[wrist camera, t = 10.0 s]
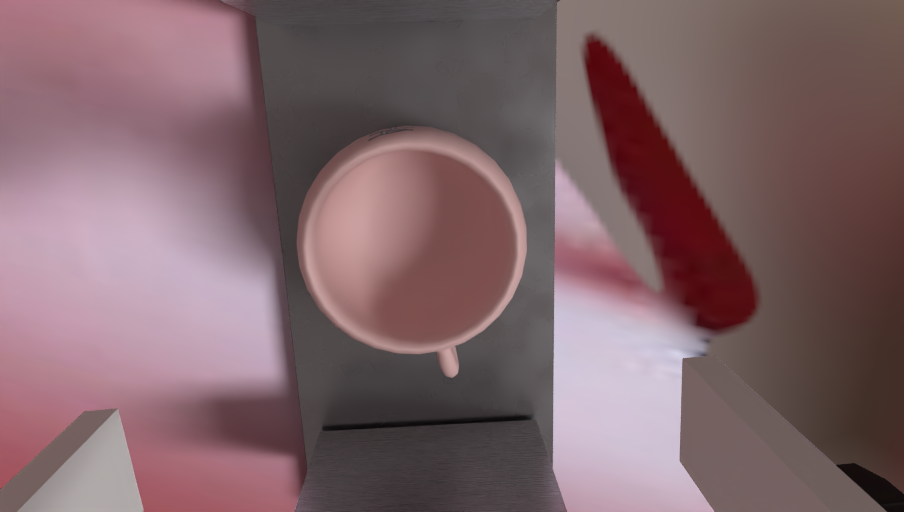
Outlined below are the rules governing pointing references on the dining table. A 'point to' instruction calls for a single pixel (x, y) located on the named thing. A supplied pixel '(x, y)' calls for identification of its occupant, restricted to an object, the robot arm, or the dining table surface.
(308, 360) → the vise bed
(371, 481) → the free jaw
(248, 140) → the dining table surface
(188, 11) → the dining table surface
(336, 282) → the mug
